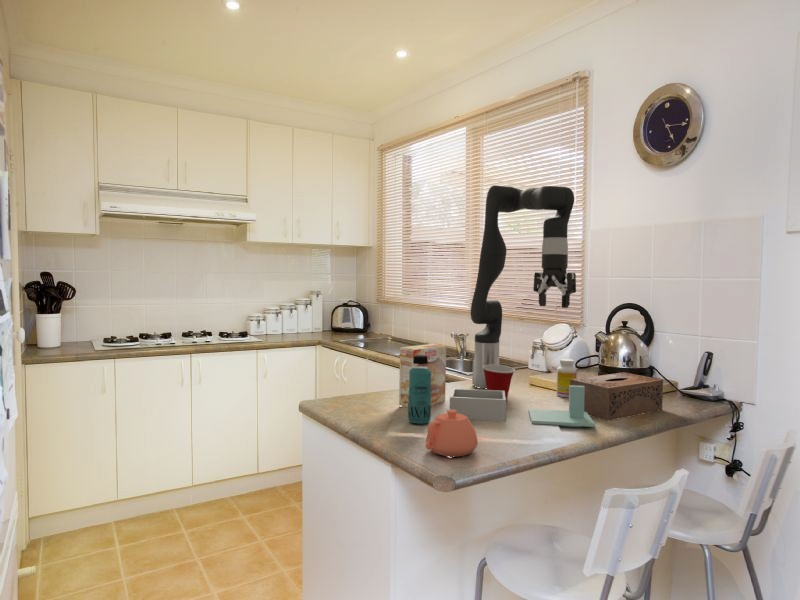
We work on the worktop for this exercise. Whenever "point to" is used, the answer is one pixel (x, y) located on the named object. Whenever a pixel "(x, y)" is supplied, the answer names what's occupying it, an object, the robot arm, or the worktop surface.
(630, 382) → the tissue box cover
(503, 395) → the tub
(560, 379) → the supplement bottle
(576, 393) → the lid
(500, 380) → the plastic cup
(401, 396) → the coffeecake box
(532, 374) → the worktop surface
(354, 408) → the worktop surface
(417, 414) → the beverage bottle
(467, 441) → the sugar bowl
